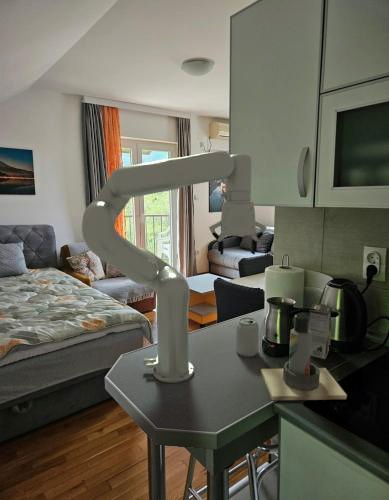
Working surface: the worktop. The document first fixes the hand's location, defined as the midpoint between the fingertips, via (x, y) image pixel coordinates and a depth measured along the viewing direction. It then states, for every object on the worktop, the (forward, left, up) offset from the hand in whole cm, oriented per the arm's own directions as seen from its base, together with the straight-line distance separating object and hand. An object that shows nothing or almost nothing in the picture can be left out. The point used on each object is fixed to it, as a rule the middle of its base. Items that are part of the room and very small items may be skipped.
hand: (237, 253), depth 101 cm
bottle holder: (+17, -13, -36) cm, 42 cm away
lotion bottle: (+16, -13, -35) cm, 41 cm away
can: (+5, +7, -36) cm, 38 cm away
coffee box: (+30, +7, -36) cm, 48 cm away
